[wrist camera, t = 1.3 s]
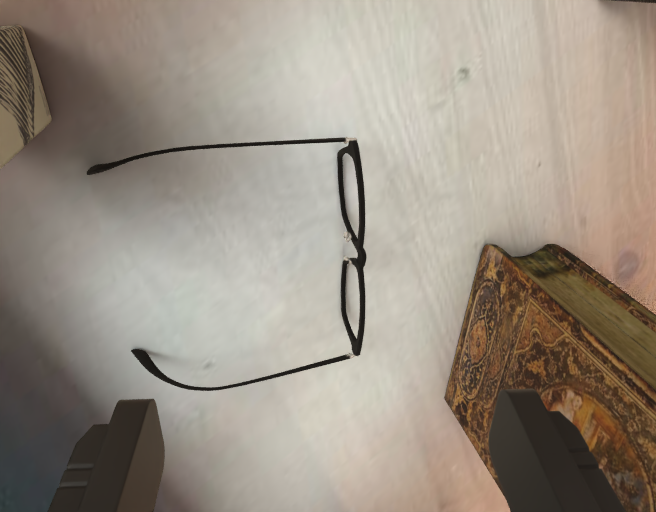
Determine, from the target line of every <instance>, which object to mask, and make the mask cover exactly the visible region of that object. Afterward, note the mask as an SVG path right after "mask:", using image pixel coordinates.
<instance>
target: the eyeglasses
mask: <svg viewBox="0 0 656 512" xmlns="http://www.w3.org/2000/svg"><path fill="white" fill-rule="evenodd" d="M328 142H344V143H345V144H346V143H347V142H349V145H348V146H347V147H345V148H343V149H341V150H340V151H339V152H338V157H337V159H338V182H339V195H340V204H341V212H342V217H343V220H344V223H345V226H346V228H347V232H345V233H344V238H345V239H346V242H348V241H350V239H351V240H352V242H353V244H354V246H355V248H356V250H357V252H358V257H357V259H356V258H348V257H346V256H344V258H343V259H344V261H343V266H342V278H341V311H342V317H343V321H344V324H345V327H346V330H347V333H348V336H349V338H350V341H351V345H352V351H353V354H350V353H348V354H347V355H343V356H339V357H336V358H332V359H328V360H325V361H321V362H318V363H314V364H310V365H307V366H303V367H299V368H296V369H292V370H288V371H285V372H281V373H277V374H274V375H270V376H266V377H262V378H258V379H254V380H250V381H246V382H242V383H238V384H233V385H228V386H222V387H212V388H208V387H194V386H188V385H184V384H181V383H179V382H176V381H174V380H172V379H170V378H168V377H167V376H165V375H164V374H163V373H162V372H161V371H160V370H159V369H158V368H157V367H156V365H155V364H154V363H153V361H152V360H151V358H150V357H149V355H148V354H147V353H146V352H145V351H143V350H139V349H133V350H131V352H132V353H133V354H134V355H135V357H136V358H137V359H138V360H139V361H140V363H141V364H142V365H143V366H144V367H145V368H146V369H147V370H148V371H149V372H150V373H152V374H153V375H154V376H156V377H158V378H159V379H161V380H163V381H165V382H167V383H170V384H172V385H175V386H177V387H181V388H184V389H189V390H201V391H213V390H222V389H227V388H233V387H238V386H242V385H247V384H251V383H255V382H259V381H264V380H268V379H272V378H276V377H280V376H284V375H288V374H292V373H296V372H300V371H304V370H307V369H311V368H315V367H319V366H323V365H327V364H331V363H335V362H339V361H342V360H346V359H350V358H353V357H354V356H359V355H360V352H361V347H362V341H363V335H364V325H365V283H364V273H363V267H364V265H365V262H366V252H365V250H364V248H363V244H364V233H365V196H364V182H363V174H362V166H361V159H360V153H359V147H358V143H357V139H356V138H347V137H346V138H327V139H309V140H290V141H272V142H253V143H234V144H216V145H202V146H189V147H179V148H171V149H166V150H160V151H154V152H149V153H144V154H140V155H136V156H133V157H129V158H126V159H123V160H120V161H116V162H112V163H108V164H98V165H95V166H93V167H91V168H90V169H89V170H88V171H87V175H91V174H96V173H100V172H103V171H106V170H109V169H112V168H114V167H117V166H119V165H122V164H125V163H127V162H130V161H133V160H136V159H140V158H144V157H148V156H153V155H158V154H164V153H169V152H177V151H186V150H196V149H210V148H227V147H243V146H261V145H283V144H305V143H328ZM345 153H347V154H349V155H350V156H351V157H352V158H353V161H354V164H355V171H356V177H357V185H358V198H359V233H358V238H357V237H356V235H355V233H354V231H353V229H352V227H351V224H350V222H349V219H348V216H347V213H346V207H345V198H344V186H343V155H344V154H345ZM349 236H350V238H349V239H348V240H347V238H348V237H349ZM348 263H352V264H353V265H354V266H355V267H356V269H357V272H358V279H359V291H360V318H359V330H358V336H357V339H356V337H355V336H354V333H353V331H352V329H351V326H350V324H349V321H348V317H347V314H346V298H345V286H346V269H347V264H348Z"/></svg>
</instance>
